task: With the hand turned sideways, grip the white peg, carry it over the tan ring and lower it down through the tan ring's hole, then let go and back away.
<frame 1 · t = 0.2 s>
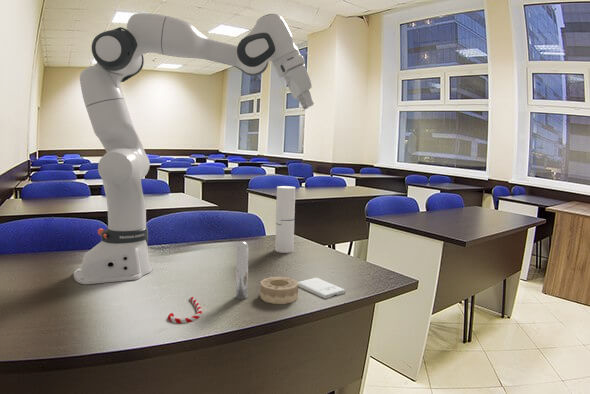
hand: (308, 107, 132), 53 cm above the table, tool tilted 25°, fingers open, 8 cm apart
tan ring: (278, 296, 116), on the table
candy cane: (186, 312, 105), on the table
external hard drive: (320, 291, 123), on the table
white peg: (241, 296, 115), on the table
cylindrical container: (284, 250, 164), on the table
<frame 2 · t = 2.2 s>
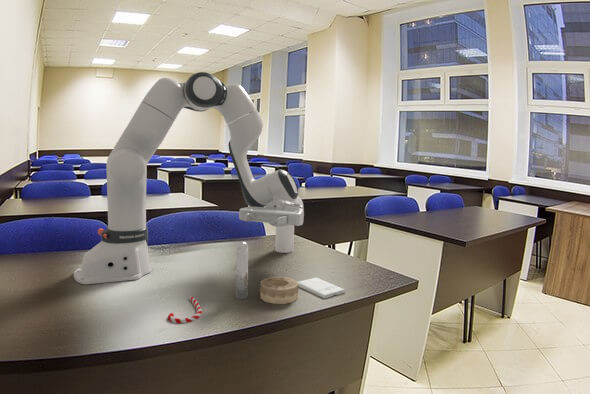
hand: (261, 220, 124), 19 cm above the table, tool horizontal, fingers open, 8 cm apart
nothing on the table moved.
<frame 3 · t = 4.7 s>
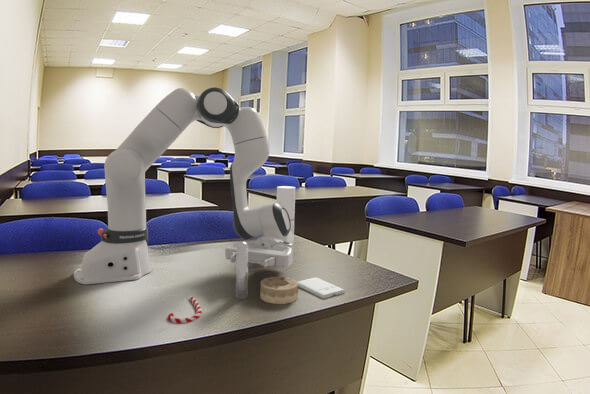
hand: (247, 262, 117), 9 cm above the table, tool horizontal, fingers open, 8 cm apart
nothing on the table moved.
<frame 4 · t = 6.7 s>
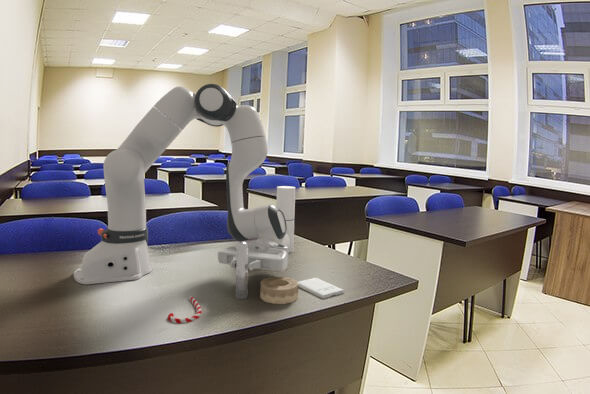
hand: (240, 266, 113), 9 cm above the table, tool horizontal, fingers closed on white peg, 3 cm apart
white peg: (241, 296, 115), on the table, touching gripper
everything else where it was.
when the fingers open (11 cm above the table, at t = 11.9 s): white peg drops 1 cm, resting in tan ring.
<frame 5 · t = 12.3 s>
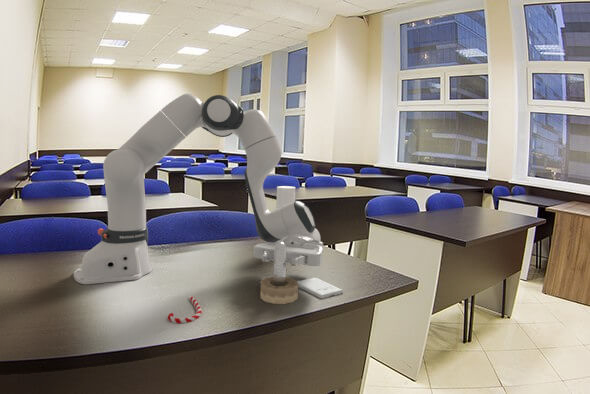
hand: (278, 260, 114), 11 cm above the table, tool horizontal, fingers open, 7 cm apart
white peg: (279, 296, 116), resting in tan ring
everything else where it was.
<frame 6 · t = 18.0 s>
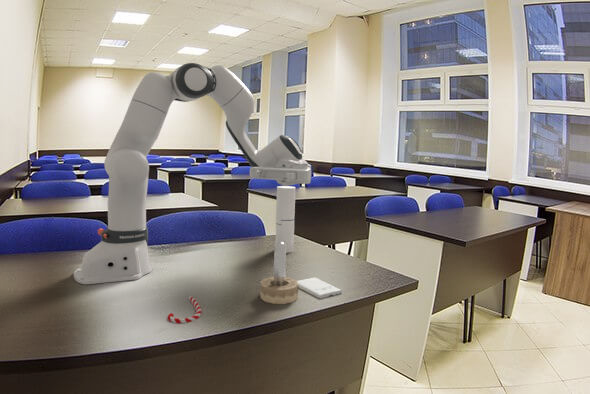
hand: (271, 175, 130), 32 cm above the table, tool horizontal, fingers open, 8 cm apart
nothing on the table moved.
at the end: white peg 0.0 cm from the tan ring (horizontally); white peg resting in tan ring; the gripper is holding nothing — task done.
